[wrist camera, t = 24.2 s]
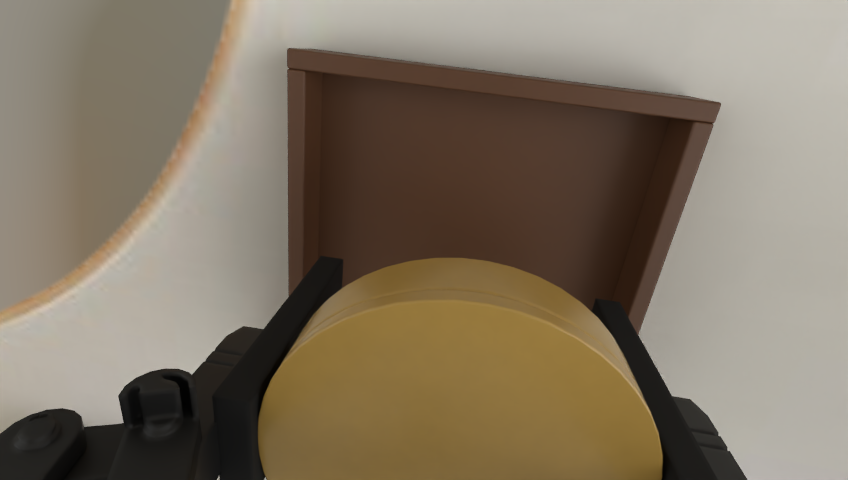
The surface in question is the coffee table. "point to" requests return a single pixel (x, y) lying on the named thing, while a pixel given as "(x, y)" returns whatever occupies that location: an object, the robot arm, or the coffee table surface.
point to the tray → (487, 172)
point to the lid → (456, 384)
